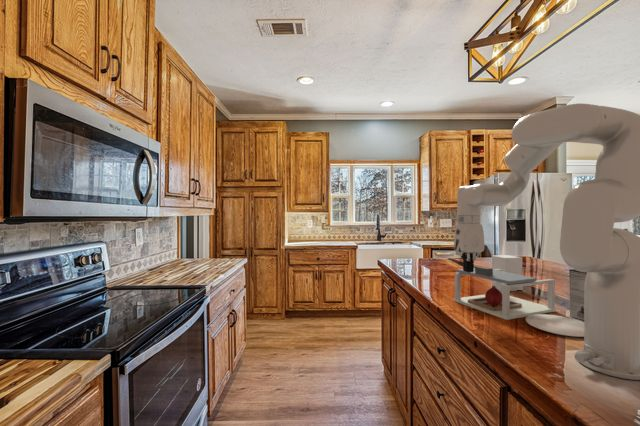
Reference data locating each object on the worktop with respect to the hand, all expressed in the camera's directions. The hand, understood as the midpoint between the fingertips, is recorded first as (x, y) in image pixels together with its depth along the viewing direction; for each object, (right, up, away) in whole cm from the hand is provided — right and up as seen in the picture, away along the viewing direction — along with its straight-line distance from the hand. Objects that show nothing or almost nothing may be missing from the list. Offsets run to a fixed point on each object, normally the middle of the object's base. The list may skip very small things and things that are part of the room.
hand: (468, 271), depth 111 cm
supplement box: (+32, -14, +31) cm, 47 cm away
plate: (+20, -14, -16) cm, 29 cm away
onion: (+11, -14, +4) cm, 19 cm away
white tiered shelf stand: (+15, -14, +5) cm, 21 cm away
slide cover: (+11, -3, +4) cm, 12 cm away
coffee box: (+36, -14, -8) cm, 40 cm away
